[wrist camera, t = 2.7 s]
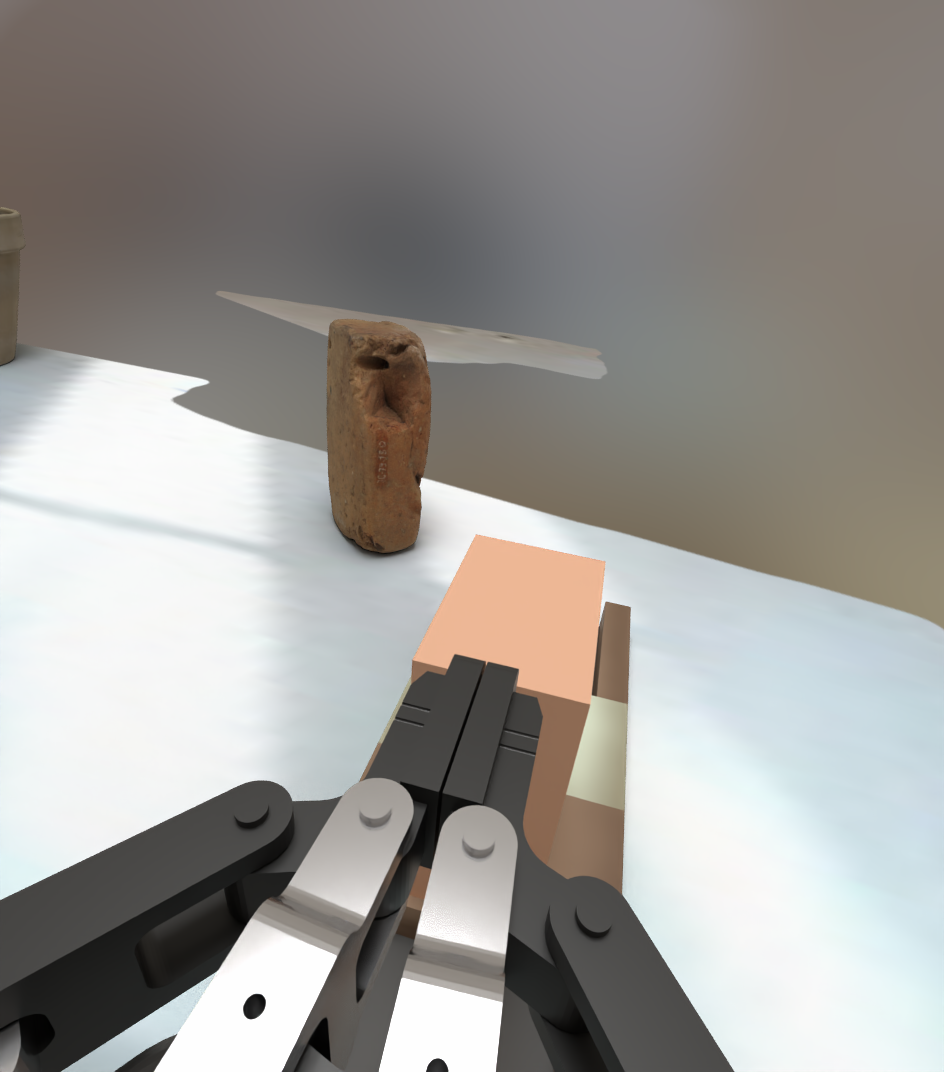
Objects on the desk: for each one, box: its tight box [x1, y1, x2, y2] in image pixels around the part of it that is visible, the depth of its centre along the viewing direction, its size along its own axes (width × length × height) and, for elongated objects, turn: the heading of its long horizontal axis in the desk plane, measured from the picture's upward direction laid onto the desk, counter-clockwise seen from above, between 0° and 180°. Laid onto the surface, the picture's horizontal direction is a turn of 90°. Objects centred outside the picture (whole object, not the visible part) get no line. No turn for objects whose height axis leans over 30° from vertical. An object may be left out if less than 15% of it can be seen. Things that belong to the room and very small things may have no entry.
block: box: [327, 319, 431, 553], centre depth 55 cm, size 11×8×20 cm
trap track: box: [344, 602, 631, 1072], centre depth 34 cm, size 14×38×3 cm, turn 166°
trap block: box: [409, 535, 605, 899], centre depth 27 cm, size 6×9×14 cm, turn 166°
